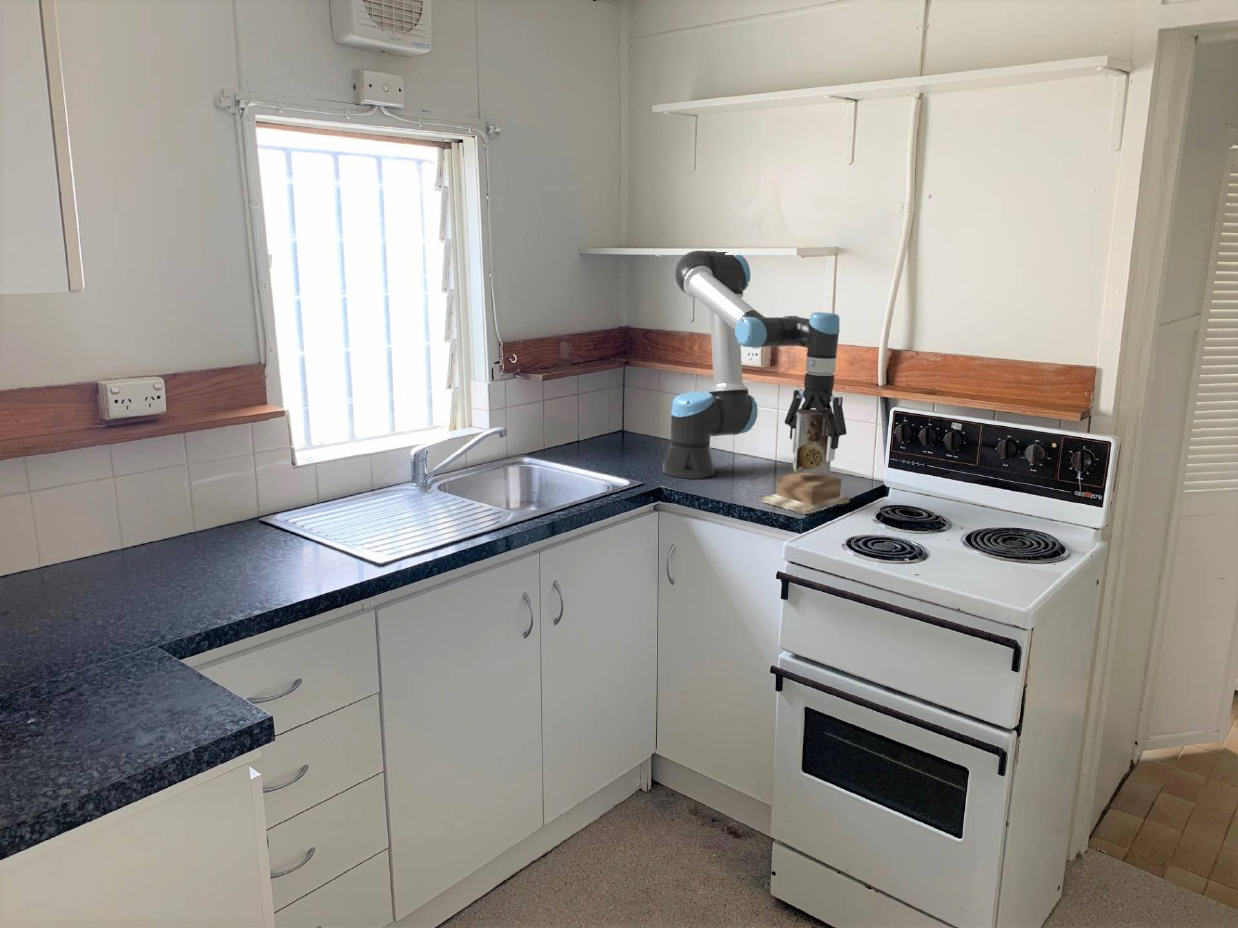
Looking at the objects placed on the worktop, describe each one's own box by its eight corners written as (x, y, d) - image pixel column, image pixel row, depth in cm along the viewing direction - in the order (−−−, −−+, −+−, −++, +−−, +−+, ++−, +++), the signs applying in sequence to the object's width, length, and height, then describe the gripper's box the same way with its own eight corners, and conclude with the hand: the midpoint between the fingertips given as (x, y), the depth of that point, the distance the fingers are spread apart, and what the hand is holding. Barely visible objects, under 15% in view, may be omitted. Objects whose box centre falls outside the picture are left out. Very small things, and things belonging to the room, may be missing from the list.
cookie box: (826, 468, 247) (832, 409, 243) (829, 474, 240) (835, 414, 236) (792, 466, 247) (797, 407, 243) (794, 472, 241) (800, 412, 237)
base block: (776, 495, 245) (778, 477, 244) (805, 487, 254) (807, 470, 252) (811, 504, 237) (812, 486, 236) (839, 496, 246) (841, 478, 245)
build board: (761, 502, 243) (761, 496, 243) (806, 490, 257) (806, 484, 256) (804, 515, 234) (805, 509, 233) (849, 502, 247) (849, 496, 247)
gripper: (775, 368, 243) (768, 449, 248) (849, 380, 227) (841, 467, 232) (792, 366, 248) (785, 446, 253) (866, 378, 232) (857, 463, 237)
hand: (812, 456), depth 243 cm, fingers closed on cookie box, 10 cm apart
